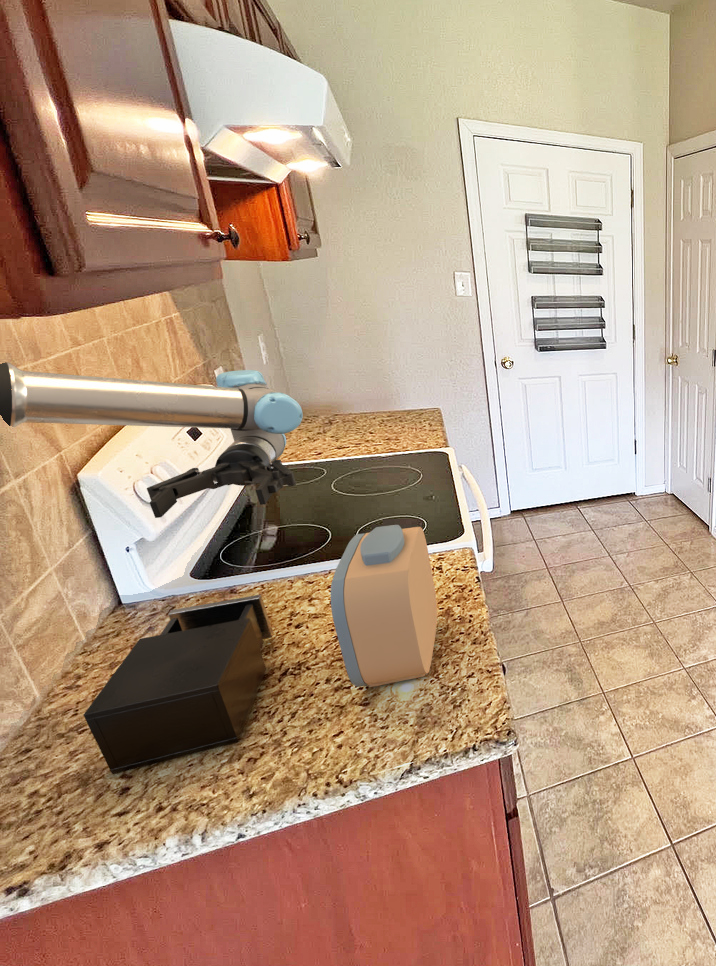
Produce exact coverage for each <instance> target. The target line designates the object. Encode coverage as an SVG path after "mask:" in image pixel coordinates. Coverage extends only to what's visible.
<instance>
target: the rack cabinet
mask: <svg viewBox="0 0 716 966" xmlns="http://www.w3.org/2000/svg"><path fill="white" fill-rule="evenodd" d="M266 673H267V666H266V663H265V659H264V656H263V654H262V649H261V650H260V647H259V644H258V641H257V638H256V635H255V632H254V629H253V626H252V623H251V620H250V618H247V619H242V620H237V621H231V622H226V623H221V624H216V625H210V626H205V627H200V628H194V629H189V630H184V631H178V632H173V633H168V634H163V635H160V634H158V635H152V636H148V637H143V638H139V639H138V640H137V642H136V643H135V644H134V646H133V647H132V649H131V650H130V651H129V653H128V654H127V655H126V657H125V658H124V659H123V660H122V662H121V663H120V664H119V666H118V667H117V669H116V670H115V671H114V673H113V674H112V676H111V677H110V678H109V679H108V681H107V682H106V683H105V685H104V686H103V688H102V689H101V690H100V692H99V693H98V694H97V696H96V697H95V698H94V699H93V701H92V702H91V704H90V705H89V707H87V709H86V710H85V712H84V713H83V717H84V720H85V722H86V724H87V726H88V728H89V730H90V732H91V734H92V736H93V738H94V741H95V743H96V745H97V746H98V749H99V750H100V752H101V754H102V756H103V758H104V761H105V763H106V765H107V767H108V769H109V770H110V773H111V775H117V774H121V773H125V772H128V771H133V770H137V769H140V768H144V767H147V766H151V765H155V764H159V763H163V762H167V761H170V760H175V759H179V758H183V757H186V756H190V755H193V754H198V753H201V752H206V751H209V750H213V749H217V748H221V747H225V746H229V745H232V744H236V743H240V742H239V741H240V740H241V737H242V734H243V732H244V728H245V726H246V723H247V721H248V718H249V716H250V714H251V711H252V708H253V706H254V704H255V703H254V702H255V700H256V698H257V695H258V693H259V690H260V687H261V685H262V683H263V680H264V677H265V676H266V675H265V674H266Z"/></svg>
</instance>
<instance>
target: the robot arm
mask: <svg viewBox="0 0 716 966" xmlns="http://www.w3.org/2000/svg"><path fill="white" fill-rule="evenodd" d="M10 375H11V377H10ZM215 382H216V386H213V385H202V384H190V383H177V382H167V381H166V382H165V381H164V382H163V381H153V380H152V381H151V380H141V379H140V380H139V379H129V378H117V377H116V378H115V377H104V376H103V377H102V376H90V375H78V374H66V373H65V374H64V373H55V372H40V371H28V370H22V369H20V368H19V367H17V366H15V365H14V364H12V363H11V362H6V361H5V363H2V364H0V415H1V416H2V418H3V420H4V421H5V422H6V423H7V424H8V425H9V426H12V427H14V428H16V427H18V426H19V425H22V424H24V423H29V424H30V423H32V424H34V423H35V424H65V425H66V424H67V425H68V424H69V425H98V426H132V427H133V426H135V427H169V428H199V429H200V428H201V429H202V428H203V429H230V433H231V436H232V439H233V442H232V443H231V444H230V445H229V446H228V447H227V448H226V449H225V450H224V451H223V452H222V453H221V454H220V455H218V457H217V459H216V462H215V465H214V467H211V468H208V469H205V470H204V469H203V470H202V471H200V470H199V467H192V468H190V469H188V470H187V471H185V472H183V473H180V474H178V475H176V476H175V475H174V476H173V477H171V478H168V479H166V480H163V481H161V482H158V483H155V484H153V485H151V486H148V487H147V488H146V491H147V493H148V496H149V499H150V502H149V505H150V508H151V511H152V513H153V515H154V519H159V518H162V517H164V515H166V514H167V513H168V511H170V510H171V508H172V507H173V506H175V505H176V504H177V503H178V500H179V499H181V498H184V497H187V496H191V495H193V494H196V493H198V492H202V491H205V490H208V489H209V490H210V489H211V490H216V489H219V488H221V487H224V486H232V485H235V486H239V487H240V486H243V487H244V486H245V487H246V486H252V485H257V484H258V485H257V487H256V489H255V493H256V496H257V500H258V503H259V505H260V506H261V505H267V503H268V502H269V500H270V499H271V496H272V495H273V494H275V493H278V492H279V491H280V489H283V488H284V486H288V487H295V486H296V485H297V483H296V482H297V481H296V478H295V474H294V472H293V471H292V470H291V469H289V468H288V467H287V466H285V465H284V464H283V463H282V459H279V458H280V457H281V456H282V455H283V453H284V451H285V448H286V446H287V437H286V435H285V434H289V433H291V432H293V431H295V430H296V429H297V428H298V427H299V426H300V425H301V423H302V421H303V417H304V416H303V415H304V414H303V409H302V407H301V405H300V403H299V402H298V401H297V400H295V399H294V398H292V397H291V396H290V395H288V394H286V393H284V392H280V391H276V390H273V389H271V388H269V387H267V385H268V384H267V382H266V381H265V378H264V375H263V373H262V372H260V371H259V370H253V369H241V370H240V369H239V370H230V371H225V372H222V373H219V374H218V375H216V377H215ZM11 389H12V390H11Z"/></svg>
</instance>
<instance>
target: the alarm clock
mask: <svg viewBox="0 0 716 966" xmlns="http://www.w3.org/2000/svg"><path fill="white" fill-rule="evenodd" d="M330 585H331V586H330V608H331V615H332V620H333V625H334V630H335V632H336V636H337V640H338V644H339V648H340V651H341V655H342V659H343V663H344V666H345V670H346V673H347V677H348V678H349V681H350V683H351V684H352V685H354V686H355V687H356V688H360V687H366V686H368V688H372V687H373V688H374V687H379V686H382V685H388V684H393V683H398V682H402V681H407V680H413V679H418V678H423V677H425V675H426V674H428V673H430V669H431V665H432V660H433V654H434V647H435V640H436V634H437V625H438V624H437V623H438V606H437V605H438V604H437V595H436V588H435V582H434V577H433V571H432V566H431V559H430V555H429V550H428V544H427V540H426V535H425V532H424V530H423V528H422V527H421V526H414V527H413V526H412V527H407V528H402V527H401V526H400V525H399V524H392V525H390V524H389V525H382V526H376V527H375V528H373V529H372V530H371V531H370V532H365V533H356V534H355V535H354V536H352V538H351V539H350V540H349V542H348V544H347V545H346V548H345V549H344V552H343V554H342V555H341V558H340V560H339V563H338V564H337V566H336V568H335V570H334V573H333V577H332V579H331V584H330Z"/></svg>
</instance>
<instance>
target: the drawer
mask: <svg viewBox="0 0 716 966" xmlns="http://www.w3.org/2000/svg"><path fill="white" fill-rule="evenodd" d="M167 615H168V618H169V621H168V623H167V624H166V626H165V627H164V628H163V630H162V631H161V632H160V634H159V635H163V634H168V633H173V632H178V631H184V630H189V629H194V628H200V627H205V626H210V625H216V624H221V623H226V622H231V621H237V620H242V619H247V618H250V620H251V623H252V626H253V629H254V632H255V635H256V638H257V641H258V644H259V647H260V650H261V651H262V648H263V646H264V643H265V640H266V639H272V638H273V635H274V631H273V629H272V628H273V627H272V625H271V621H270V619H269V615H268V612H267V609H266V606H265V602H264V599H263V596H262V594H260V593H259V594H255V595H249V596H244V597H243V596H242V597H238V598H233V599H227V600H221V601H216V602H209V603H204V604H197V605H192V606H188V607H181V608H175V609H171V610H170V611H169V612H168V614H167Z"/></svg>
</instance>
